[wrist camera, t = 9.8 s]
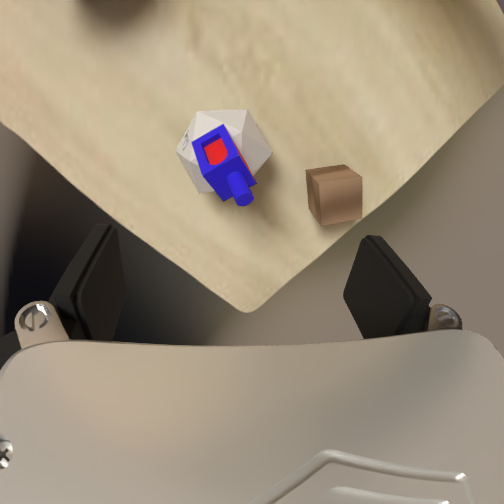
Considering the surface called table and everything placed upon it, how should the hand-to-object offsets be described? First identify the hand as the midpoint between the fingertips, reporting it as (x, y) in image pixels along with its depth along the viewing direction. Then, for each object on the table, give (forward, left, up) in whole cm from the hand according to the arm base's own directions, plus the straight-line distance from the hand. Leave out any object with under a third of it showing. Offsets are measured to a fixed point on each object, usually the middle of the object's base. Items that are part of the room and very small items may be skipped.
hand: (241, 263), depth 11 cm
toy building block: (0, 0, -16) cm, 16 cm away
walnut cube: (+4, +13, -24) cm, 27 cm away
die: (0, 0, -24) cm, 24 cm away
